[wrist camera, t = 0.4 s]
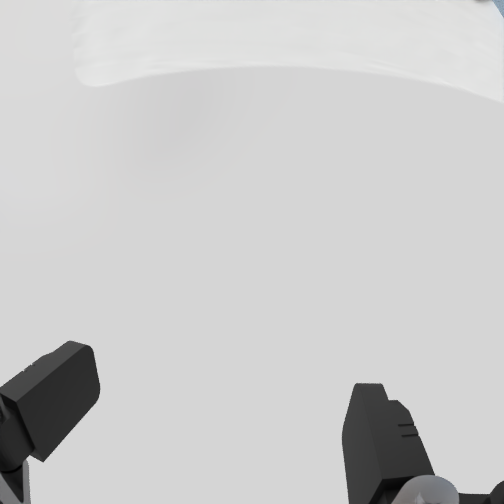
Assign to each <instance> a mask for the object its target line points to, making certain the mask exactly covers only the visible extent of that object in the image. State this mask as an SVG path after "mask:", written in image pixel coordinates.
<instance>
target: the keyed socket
mask: <svg viewBox="0 0 504 504" xmlns="http://www.w3.org/2000/svg"><path fill="white" fill-rule="evenodd" d="M493 2H494V3H495V5H496V6H497V8H498V9H499V11H500V12H501V14H502V16H503V17H504V0H493Z"/></svg>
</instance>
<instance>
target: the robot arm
mask: <svg viewBox="0 0 504 504" xmlns="http://www.w3.org/2000/svg"><path fill="white" fill-rule="evenodd" d="M99 394H100V383H99V378H98V373H97V368H96V363H95V358H94V352H93V349H92V348H91V347H90V346H88V345H85V344H81V343H78V342H74V341H68V342H66V343H65V344H63V345H62V346H61V347H59V348H58V349H56V350H55V351H54V352H52V353H49V354H47V355H44V356H42V357H40V358H39V359H38V360H36V361H35V362H34V363H33V364H32V365H30V366H28V367H27V368H26V369H25V370H24V371H21V372H20V373H19V374H17V375H16V376H15V377H13V378H12V379H11V380H9V381H8V382H7V383H5V384H4V385H3V386H1V387H0V504H31V501H30V486H29V465H28V462H27V460H26V458H27V457H28V456H29V455H31V456H33V457H34V458H36V459H38V460H40V461H42V462H44V461H45V460H46V459H47V457H48V456H49V455H50V454H51V453H52V452H53V451H54V450H55V448H56V447H57V446H58V445H59V444H60V443H61V442H62V440H63V439H64V438H65V437H66V436H67V435H68V434H69V432H70V431H71V430H72V429H73V428H74V427H75V426H76V424H77V423H78V422H79V421H80V420H81V419H82V418H83V416H85V414H86V413H87V412H88V411H89V410H90V409H91V407H93V405H94V404H95V403H96V401H97V400H98V398H99ZM342 446H343V454H344V462H345V471H346V480H347V489H348V499H349V504H504V481H502V482H500V483H499V484H498V485H497V486H496V487H495V488H494V489H493V491H492V492H491V493H490V494H463V493H458V492H457V490H456V488H455V487H454V485H453V484H452V483H450V482H449V481H448V480H446V479H444V478H442V477H439V476H435V474H434V471H433V469H432V466H431V463H430V461H429V458H428V456H427V453H426V451H425V448H424V446H423V443H422V441H421V438H420V437H419V436H418V431H417V429H416V426H414V422H413V419H412V417H411V414H410V412H409V410H407V409H406V408H405V407H404V406H403V405H402V404H401V403H400V402H399V401H398V400H388V397H387V394H386V392H385V389H384V387H383V385H382V384H368V383H367V384H366V383H363V384H362V383H356V384H355V386H354V388H353V392H352V396H351V399H350V403H349V407H348V411H347V414H346V417H345V421H344V425H343V431H342Z"/></svg>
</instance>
